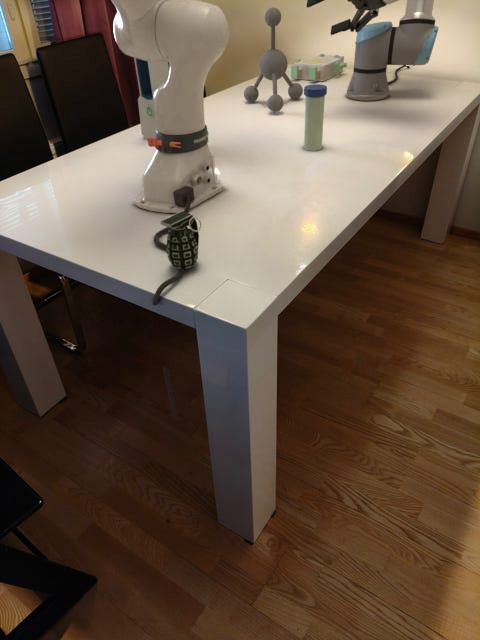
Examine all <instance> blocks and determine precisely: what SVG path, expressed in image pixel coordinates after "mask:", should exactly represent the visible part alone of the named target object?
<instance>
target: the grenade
mask: <svg viewBox="0 0 480 640" xmlns="http://www.w3.org/2000/svg"><path fill="white" fill-rule="evenodd" d="M198 222H199V226H198ZM159 224H160V225H162V226H164V227H165V228H166V227H169V228H170V227H171V230H169V231H168V232H167V236H166V245H167V249H165V250H166V254H167V259H168V261H169V263H170V265H171V266H172V267H174V268H176V269H178V270H179V268H181V269H182V268H184V271H186V270H189V269H192V267H194V266H195V265H196V264H197V262H198V261H197V260H198V259H199V243H200V241H199V240H200V233H199V232H200V231H201V228H202V221H201V220H200V219H199V218H198V217H197V216H194V215H193V214H192V213H189V212H188V213H187V212H184V211H181V212H179V213H174V214H172V215H170V216H169V217H166V218H165V219H162V220H160V222H159ZM198 227H199V228H198Z"/></svg>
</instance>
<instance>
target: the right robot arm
mask: <svg viewBox="0 0 480 640" xmlns="http://www.w3.org/2000/svg"><path fill="white" fill-rule="evenodd" d="M324 1H325V0H306V8H307V9H308V8H311V7H313V6H316V5H317V4H320V3H323V2H324ZM346 1H347V2H350V3H351V4H352V5H353V6H354V7H355V9H356V12H355V14H354V15H353V17H352V19H351V18H348V19H345V20H343V21H340V22H338V23H335V24H333V25H331V27H330V36H333V35H336V34H338V33H342V32H347V31H349V30H350V32H351V33H353V32H355V33H356V38H355V42H354V43H355V50H354V60H353V61H354V62H353V71H352V75H351V78H350V81H349V83H348V86H347V89H346V97H347V98H348V99H350V100H355V101H360V102H361V101H362V102H363V101H364V102H373V101H374V102H375V101H380V100H381V101H382V100H384V99H387V98H388V97H389V95H390V88H389V85H391V84H392V83H395V82H396V81H397V80H398V78H399V75H398V72H399V71H400V70H402V69H404V68H407V69H410V68H411V67H410V66H413V67H415V66H425V65H427V64H428V63H429V62H430V60H431V56H432V53H433V49H434V46H435V43H436V39H437V35H438V32H439V29H440V27H439V26H437V25H436V18H435V17H434V16H433V10H434V5H435V4H434V3H435V0H406V4H405V5H406V6H405V11H404V15H403V16H402V17H401V18H400V20H399V23H398V26H393V22H392V21H379V22H373V23H370V22H371V21H372V20H373V19H375V18H376V17H378V16H379V12H380V9H382V8H384V7H387V5H391V4H393V3H397V2H399V1H400V0H346ZM366 11H367V12H366ZM365 12H366V13H365ZM364 13H365V14H364ZM406 65H409V66H406ZM388 66H400V67H397V68H396V69H395V71H394V76H395V78H394V79H392V80H390V81H388V75H387V69H388Z"/></svg>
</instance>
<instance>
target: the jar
mask: <svg viewBox="0 0 480 640" xmlns="http://www.w3.org/2000/svg"><path fill="white" fill-rule="evenodd" d="M325 96H326V95H325ZM325 96H322V97H308V96H305V104H304V105H305V106H304V108H305V109H304V135H303V149H304V150H306V151H311V152H314V151H320V150H322V148H323V136H324V135H323V134H324V117H325V116H324V115H325V98H326V97H325Z"/></svg>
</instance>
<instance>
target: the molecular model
mask: <svg viewBox="0 0 480 640" xmlns="http://www.w3.org/2000/svg"><path fill="white" fill-rule="evenodd" d="M281 20H282V13H281V11H280V9H278V8H277V7H274V6H273V7H272V6H271V7H269V8H268V9H267V10H266V11H265V13H264V21H265V24H266V25H267V26H268V27H270V49H267V50H266V51H264V53H263V54H262V55H261V57H260V59H259V65H258V66H259V71H260V74H259V75H258V77H257V79H256V81H255V83H254V84H253V85H248V86H247V87H246V88H245V89H244V91H243V97H244V99H245V101H247V102H248V103H254V102H256V101H257V100H258V98H259V94H260V92H259V90H258V87H259V85H260V83H261V82H262V80H263V78H265V79H266V80H268V81H271V82H272V94H271V95H270V96H269V97H268V98H267V108H268V109H269V110H270V111H271V112H273V113H277V112H280V111H281V110H282V109H283V107H284V99H283V97H282V96H281V95H280V94H278V80H279V79H281V78H283V79H284V81H285V82H286V84H287V86H288V89H287V94H288V97H289V98H290V99H292V100H298V99H300V98H301V97H302V96H303V94H304V88H303V86H302V85H301V83H298V82H294V83H293V82H292V80H291V78H289V76H288V74H287V73H286V72H287V69H288V59H287V56H286V55H285V53H284V52H283V51H282V50H280V49H278V48H276V27H278V25H280V23H281V22H282V21H281Z"/></svg>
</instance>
